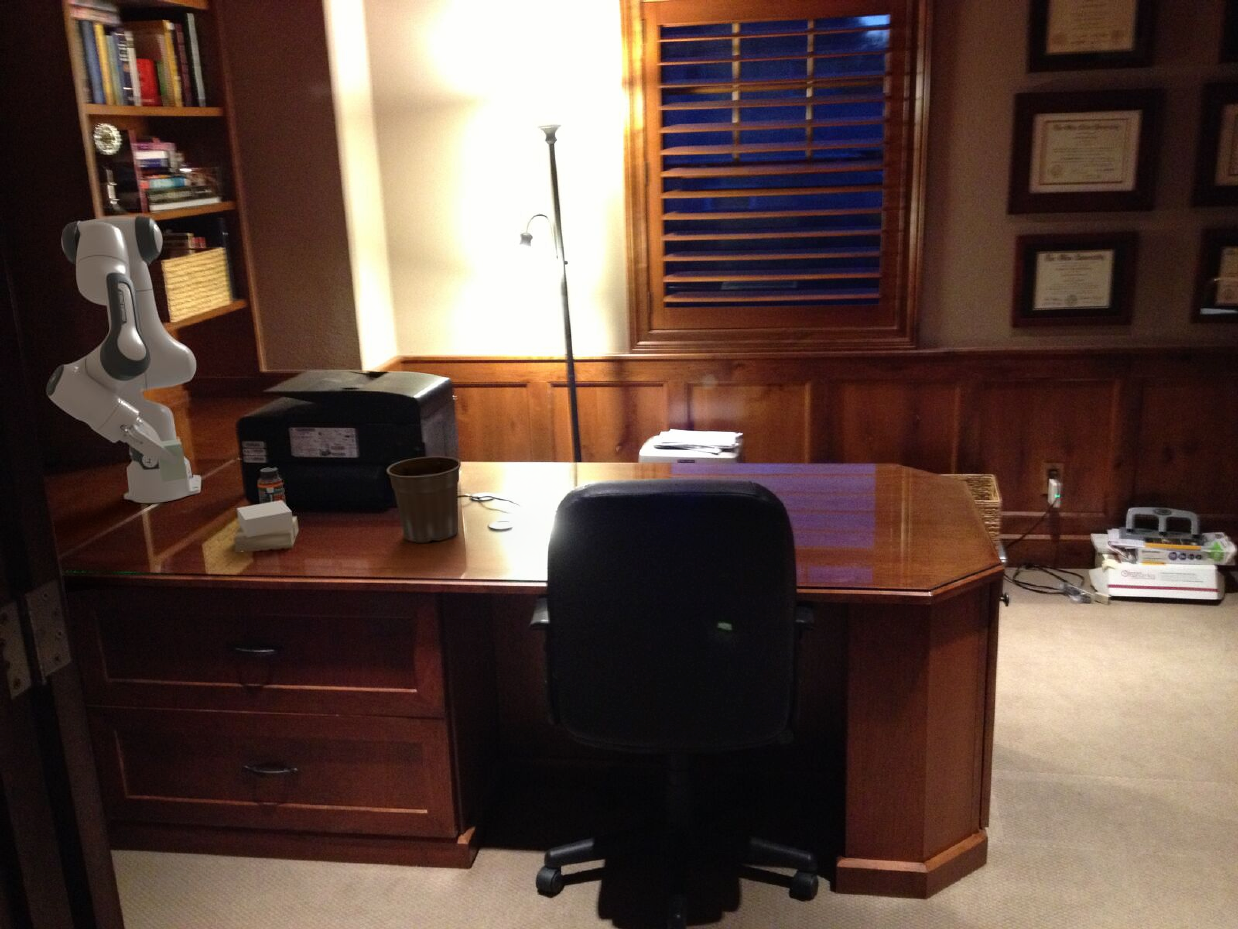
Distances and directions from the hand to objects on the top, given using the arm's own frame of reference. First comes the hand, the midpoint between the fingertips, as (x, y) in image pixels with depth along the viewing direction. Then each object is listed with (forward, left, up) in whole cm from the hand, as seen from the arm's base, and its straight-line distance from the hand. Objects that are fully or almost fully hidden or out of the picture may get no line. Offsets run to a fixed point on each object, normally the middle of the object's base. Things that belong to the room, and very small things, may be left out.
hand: (174, 458), depth 248 cm
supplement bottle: (-14, +17, -19) cm, 29 cm away
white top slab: (+6, +19, -16) cm, 26 cm away
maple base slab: (+7, +19, -20) cm, 28 cm away
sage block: (0, -1, -4) cm, 4 cm away
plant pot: (+11, +55, -19) cm, 60 cm away
